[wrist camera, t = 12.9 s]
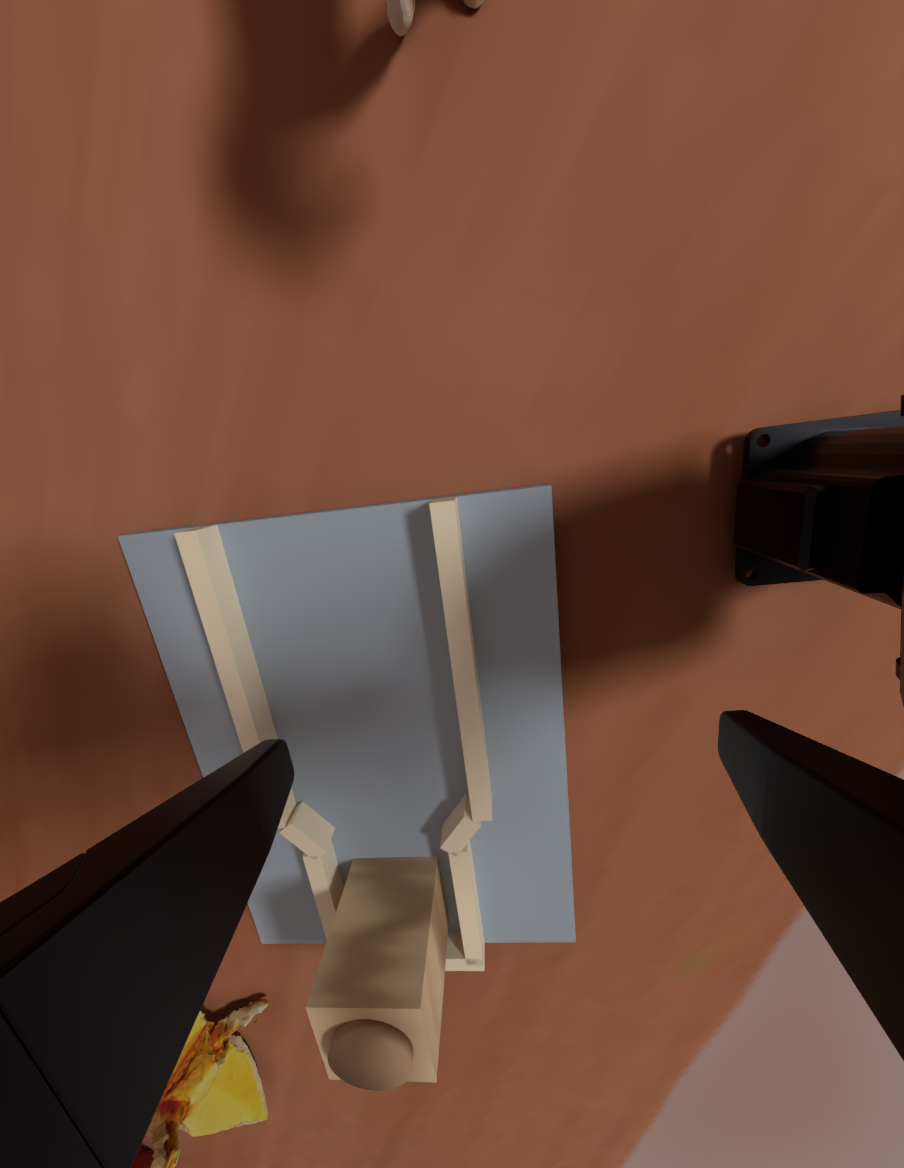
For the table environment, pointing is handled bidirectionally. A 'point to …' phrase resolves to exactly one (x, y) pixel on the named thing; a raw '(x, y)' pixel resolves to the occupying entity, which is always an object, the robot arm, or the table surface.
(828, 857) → the robot arm
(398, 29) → the unicorn figurine
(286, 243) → the table surface
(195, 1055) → the origami crane
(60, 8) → the table surface
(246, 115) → the table surface
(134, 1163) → the onion
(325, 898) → the keyhole board
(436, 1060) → the stud block
